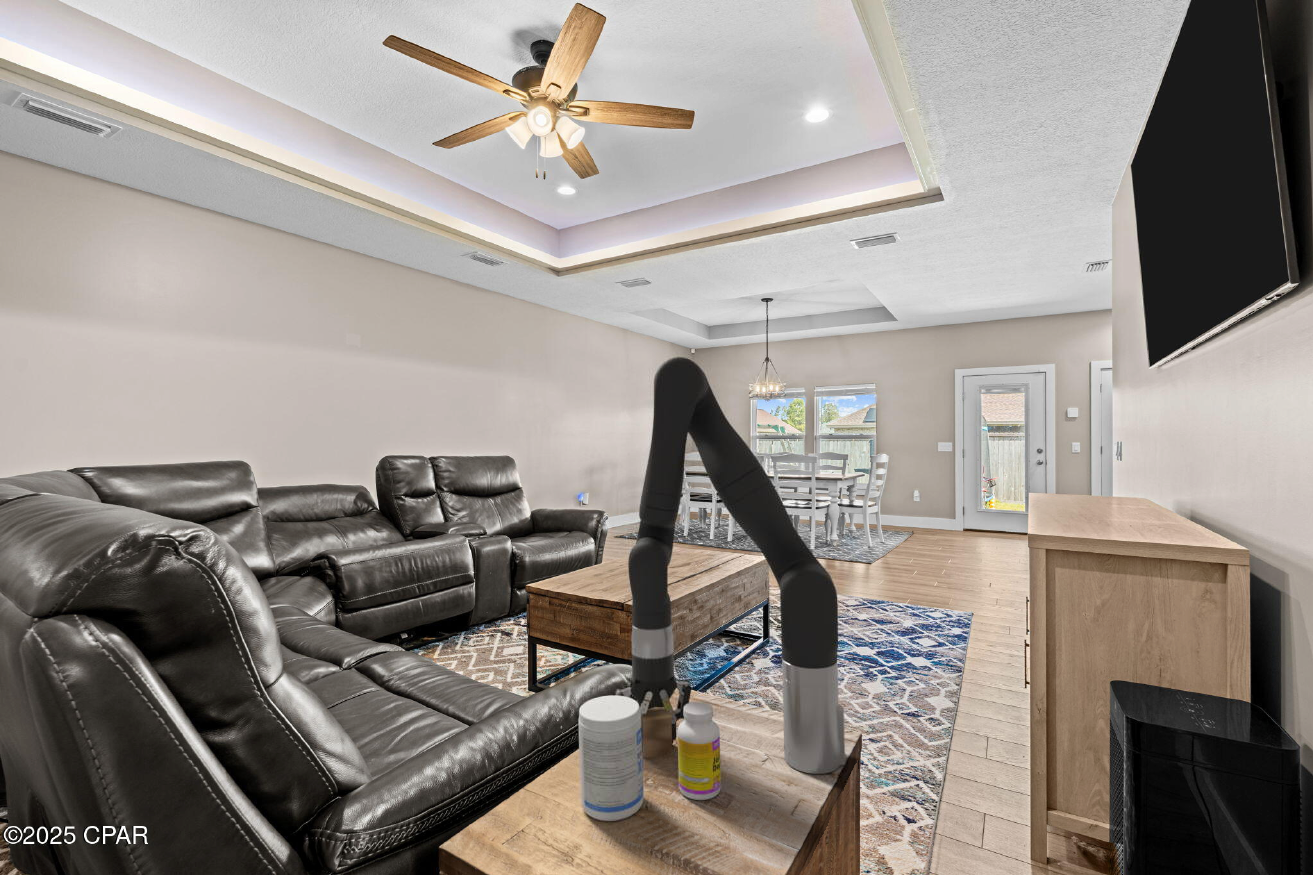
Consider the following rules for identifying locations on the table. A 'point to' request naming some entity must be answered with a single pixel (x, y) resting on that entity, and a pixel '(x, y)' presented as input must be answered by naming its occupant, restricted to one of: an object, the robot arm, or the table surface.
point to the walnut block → (656, 733)
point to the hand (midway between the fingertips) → (654, 743)
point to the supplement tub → (610, 757)
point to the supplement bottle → (699, 752)
